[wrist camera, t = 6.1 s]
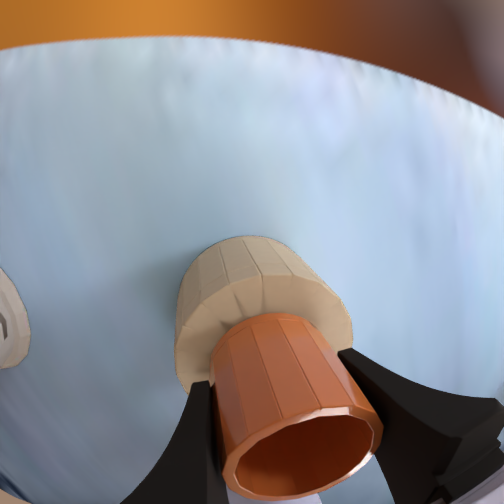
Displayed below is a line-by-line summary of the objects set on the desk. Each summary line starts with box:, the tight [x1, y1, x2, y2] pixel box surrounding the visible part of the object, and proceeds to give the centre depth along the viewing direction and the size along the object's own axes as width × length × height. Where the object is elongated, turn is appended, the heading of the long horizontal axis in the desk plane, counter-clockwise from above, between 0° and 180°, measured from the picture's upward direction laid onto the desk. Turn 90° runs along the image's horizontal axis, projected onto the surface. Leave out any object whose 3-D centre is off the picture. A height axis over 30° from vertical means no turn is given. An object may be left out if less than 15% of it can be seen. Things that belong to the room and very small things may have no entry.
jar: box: [174, 236, 353, 396], centre depth 17 cm, size 8×8×6 cm
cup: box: [209, 313, 384, 502], centre depth 11 cm, size 5×5×6 cm
